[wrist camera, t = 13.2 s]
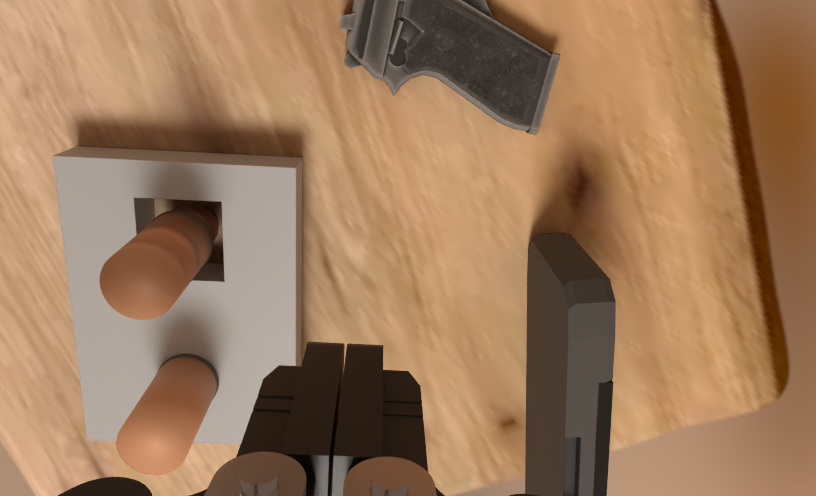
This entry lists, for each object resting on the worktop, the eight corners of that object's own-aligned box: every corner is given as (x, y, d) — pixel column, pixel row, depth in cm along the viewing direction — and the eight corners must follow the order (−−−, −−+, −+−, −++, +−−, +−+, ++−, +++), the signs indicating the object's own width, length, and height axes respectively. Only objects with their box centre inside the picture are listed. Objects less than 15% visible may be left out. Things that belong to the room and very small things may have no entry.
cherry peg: (162, 195, 39) (94, 246, 30) (224, 197, 39) (176, 249, 30) (166, 253, 40) (102, 319, 31) (226, 255, 40) (180, 322, 31)
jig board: (77, 146, 38) (-19, 184, 29) (302, 157, 38) (276, 198, 29) (106, 412, 43) (33, 513, 34) (301, 418, 44) (279, 519, 35)
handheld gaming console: (561, 521, 48) (604, 643, 38) (524, 524, 48) (558, 647, 38) (570, 225, 40) (626, 286, 31) (526, 228, 40) (569, 290, 31)
